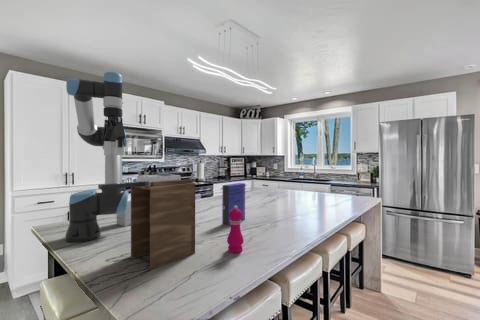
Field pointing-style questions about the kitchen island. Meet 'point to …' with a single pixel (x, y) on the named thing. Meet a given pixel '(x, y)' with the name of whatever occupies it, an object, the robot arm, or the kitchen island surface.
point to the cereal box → (233, 200)
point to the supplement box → (125, 215)
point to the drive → (142, 181)
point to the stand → (163, 221)
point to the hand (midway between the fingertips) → (113, 155)
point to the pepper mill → (235, 231)
